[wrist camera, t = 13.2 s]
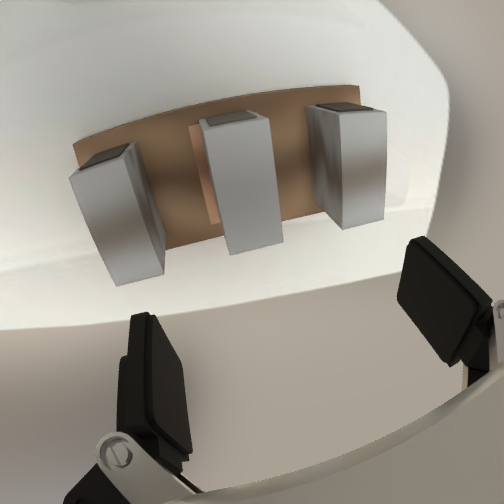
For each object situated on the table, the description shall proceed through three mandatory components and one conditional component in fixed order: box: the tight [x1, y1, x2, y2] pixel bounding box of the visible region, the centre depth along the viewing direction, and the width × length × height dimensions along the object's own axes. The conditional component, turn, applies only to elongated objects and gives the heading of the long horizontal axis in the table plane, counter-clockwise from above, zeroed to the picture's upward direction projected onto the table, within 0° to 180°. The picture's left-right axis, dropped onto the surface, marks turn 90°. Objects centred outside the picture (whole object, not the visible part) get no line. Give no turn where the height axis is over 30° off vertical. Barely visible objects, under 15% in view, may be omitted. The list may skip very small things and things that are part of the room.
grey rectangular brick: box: [199, 110, 283, 255], centre depth 21 cm, size 9×4×6 cm, turn 8°
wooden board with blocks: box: [69, 85, 387, 286], centre depth 22 cm, size 12×25×8 cm, turn 99°
